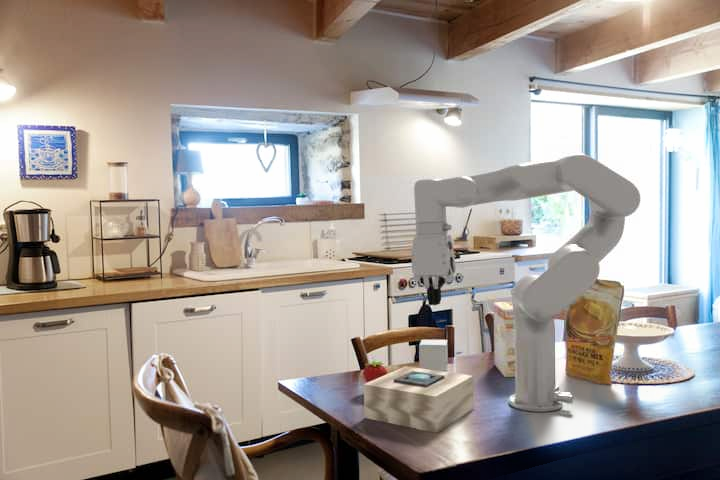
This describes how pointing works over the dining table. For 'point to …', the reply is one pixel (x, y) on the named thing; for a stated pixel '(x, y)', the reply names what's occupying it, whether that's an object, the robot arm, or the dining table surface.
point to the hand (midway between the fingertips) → (434, 304)
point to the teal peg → (419, 377)
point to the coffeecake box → (504, 338)
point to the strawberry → (374, 371)
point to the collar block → (419, 398)
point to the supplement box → (433, 355)
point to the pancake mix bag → (593, 331)
